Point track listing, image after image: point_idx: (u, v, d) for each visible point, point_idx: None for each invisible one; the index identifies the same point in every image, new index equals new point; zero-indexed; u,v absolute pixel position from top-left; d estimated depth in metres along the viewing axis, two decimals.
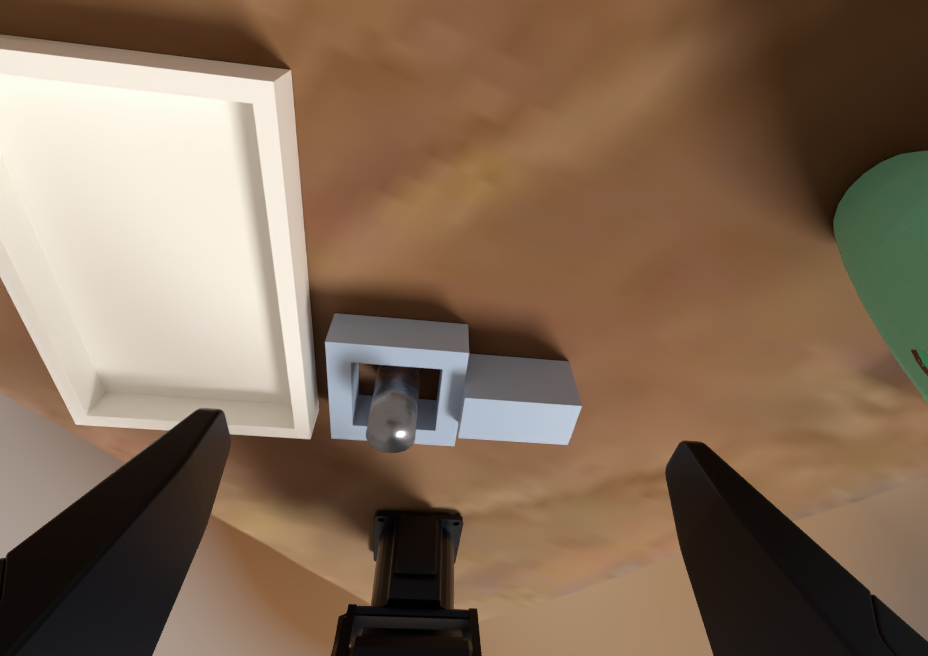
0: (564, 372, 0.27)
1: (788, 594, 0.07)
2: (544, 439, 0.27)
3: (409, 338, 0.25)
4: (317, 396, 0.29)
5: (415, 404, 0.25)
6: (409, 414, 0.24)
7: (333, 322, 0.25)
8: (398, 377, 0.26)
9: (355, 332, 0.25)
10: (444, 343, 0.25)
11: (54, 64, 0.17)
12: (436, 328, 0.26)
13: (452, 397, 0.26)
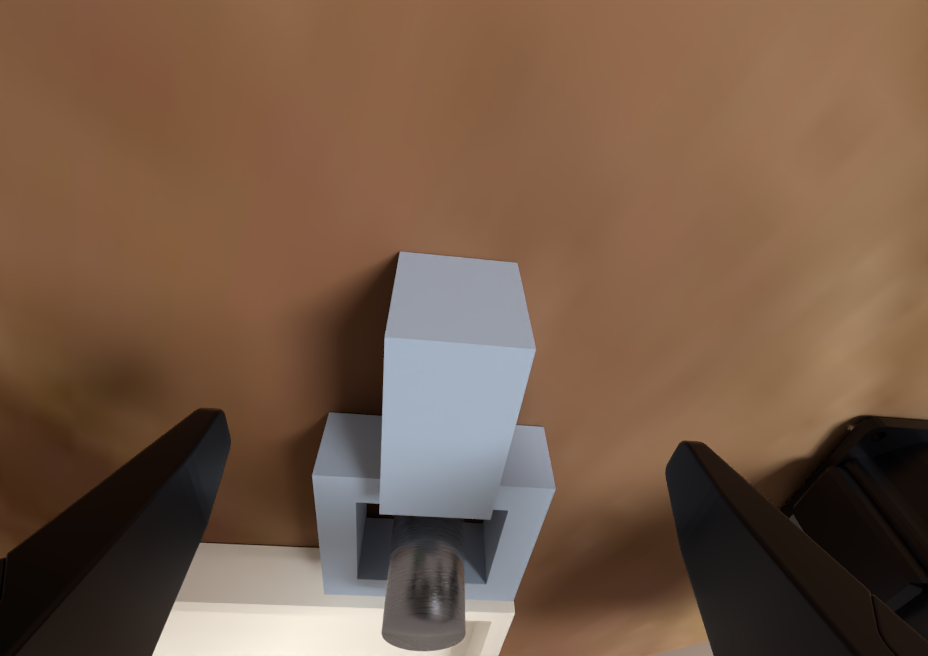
0: None
1: (787, 594, 0.07)
2: (510, 396, 0.11)
3: None
4: None
5: (411, 554, 0.15)
6: (396, 592, 0.14)
7: None
8: (392, 534, 0.16)
9: None
10: None
11: None
12: None
13: None
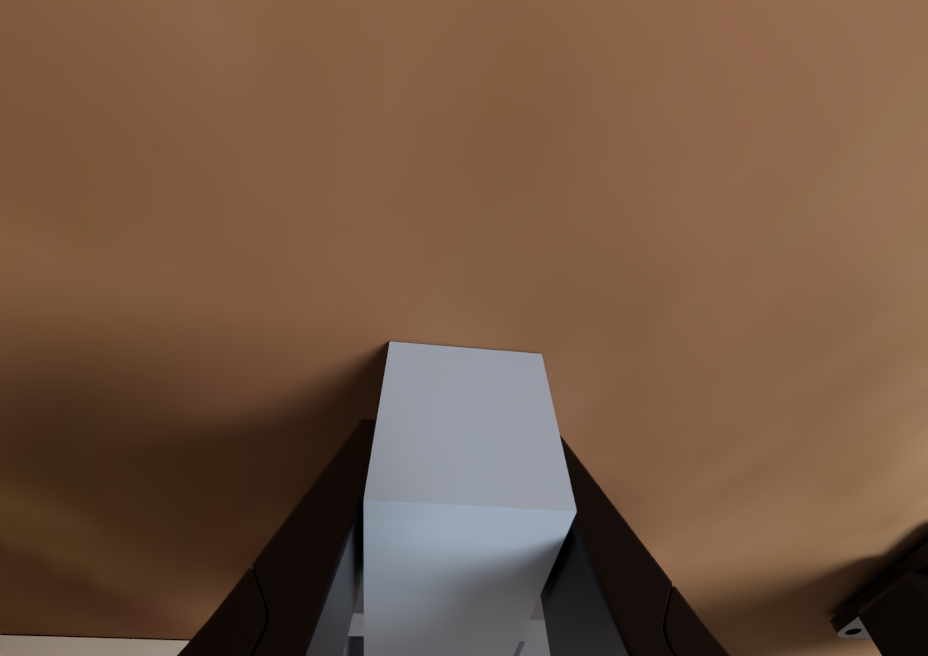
0: None
1: (590, 586, 0.07)
2: (537, 559, 0.08)
3: None
4: None
5: None
6: None
7: None
8: None
9: None
10: None
11: None
12: None
13: None
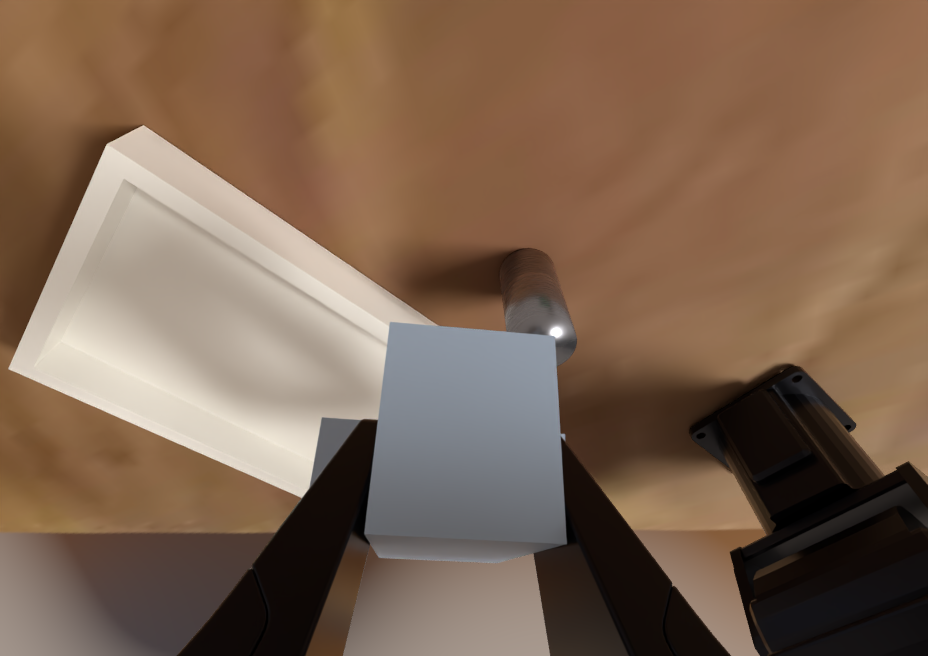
0: None
1: (590, 585, 0.07)
2: (528, 549, 0.09)
3: None
4: None
5: (547, 290, 0.18)
6: (539, 304, 0.17)
7: None
8: (512, 280, 0.19)
9: None
10: None
11: (51, 293, 0.19)
12: None
13: None
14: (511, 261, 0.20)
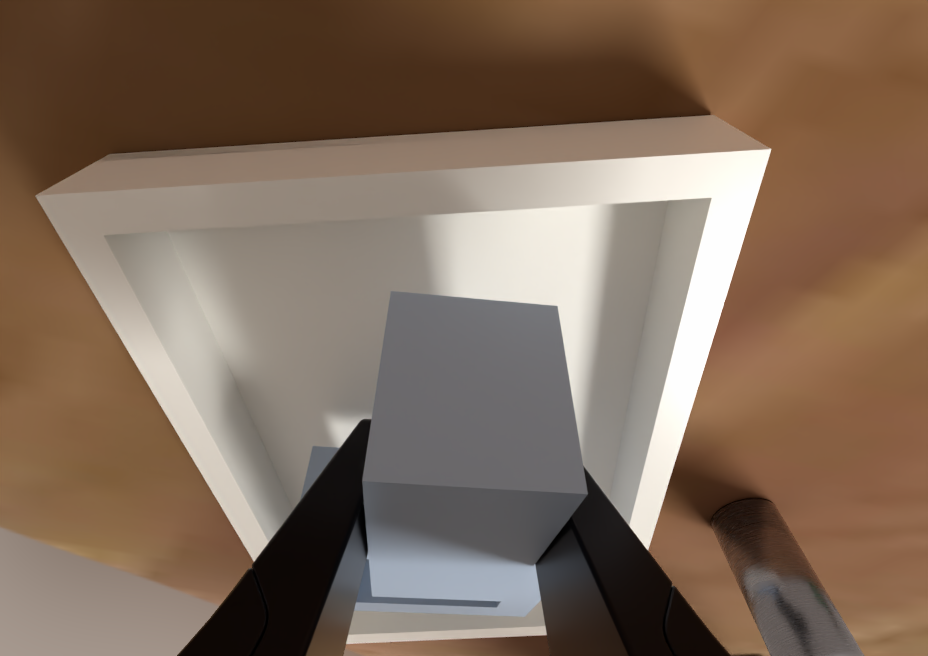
0: None
1: (590, 586, 0.07)
2: (543, 528, 0.08)
3: None
4: None
5: (828, 597, 0.16)
6: (845, 626, 0.15)
7: None
8: (784, 551, 0.17)
9: None
10: None
11: (346, 192, 0.09)
12: None
13: None
14: (765, 513, 0.18)
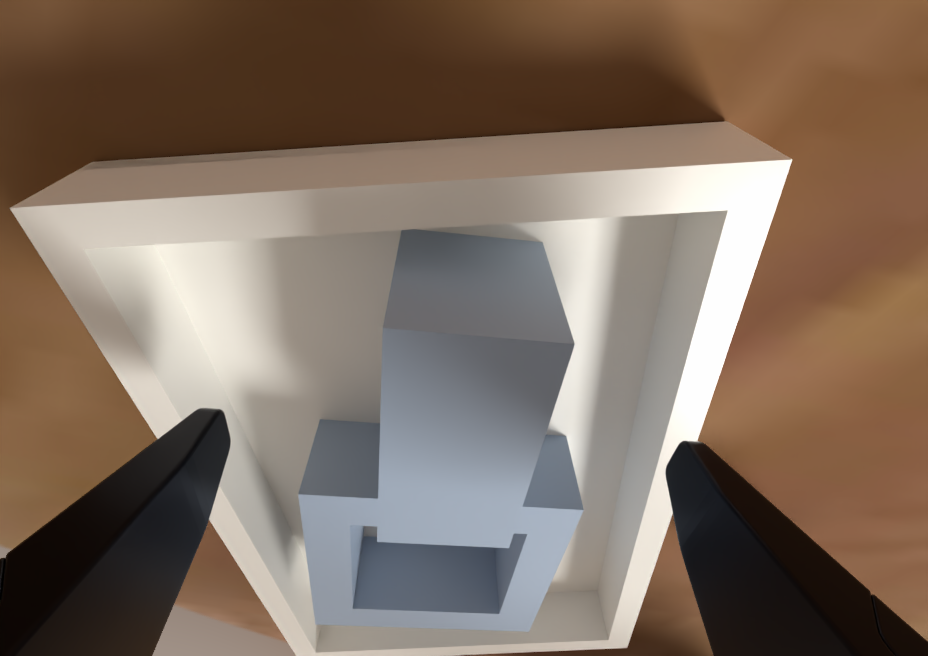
0: None
1: (788, 594, 0.07)
2: (539, 403, 0.09)
3: None
4: None
5: None
6: None
7: None
8: None
9: None
10: None
11: (340, 204, 0.08)
12: None
13: None
14: None
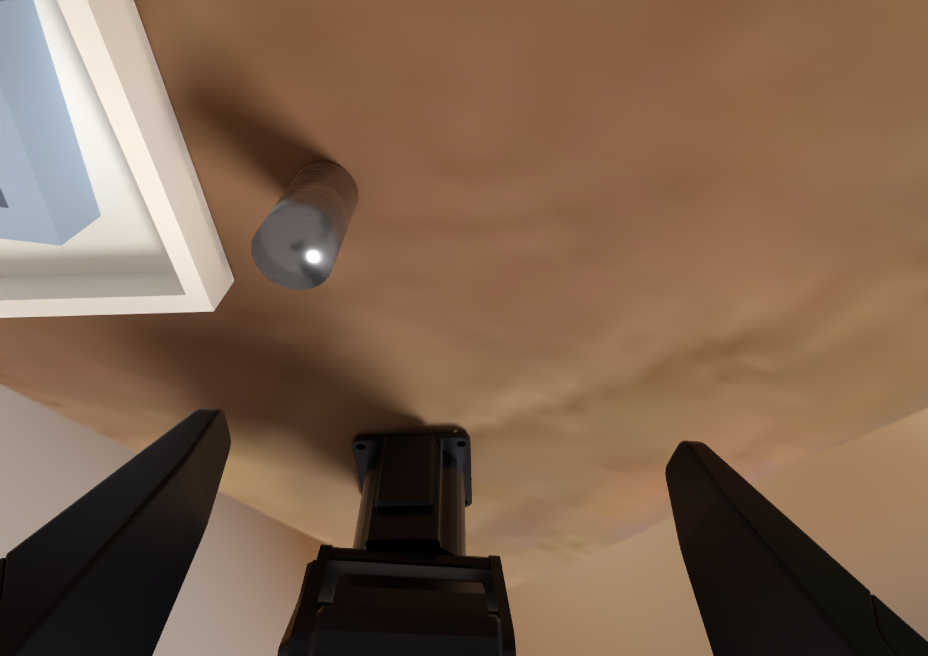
0: None
1: (788, 594, 0.07)
2: None
3: None
4: (224, 256, 0.20)
5: (336, 214, 0.16)
6: (319, 218, 0.15)
7: None
8: (309, 181, 0.17)
9: None
10: None
11: None
12: None
13: None
14: (321, 166, 0.18)
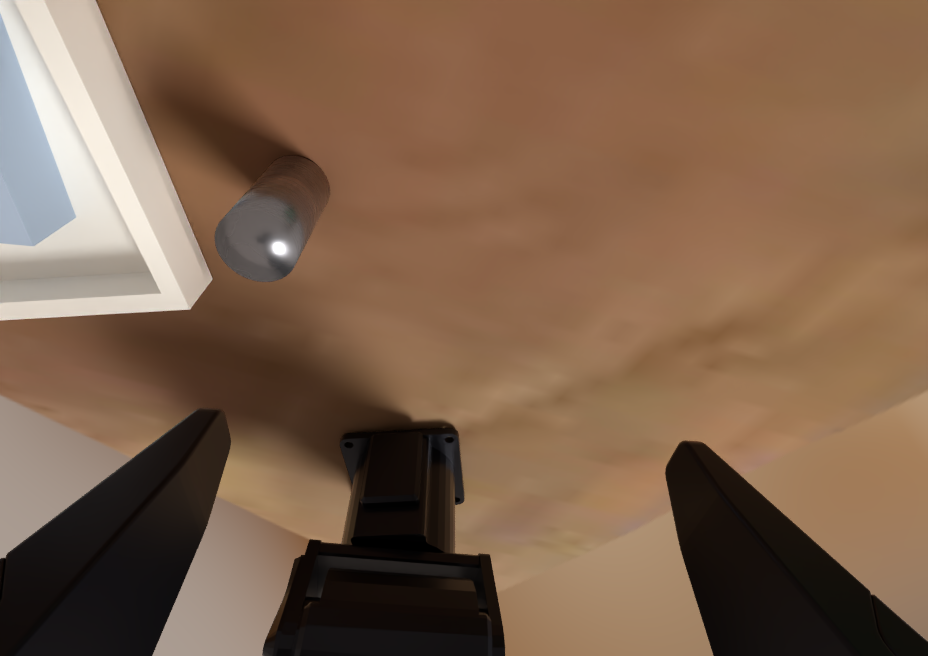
0: None
1: (788, 594, 0.07)
2: None
3: None
4: (200, 254, 0.20)
5: (301, 206, 0.16)
6: (282, 208, 0.15)
7: None
8: (276, 174, 0.17)
9: None
10: None
11: None
12: None
13: None
14: (289, 160, 0.18)
